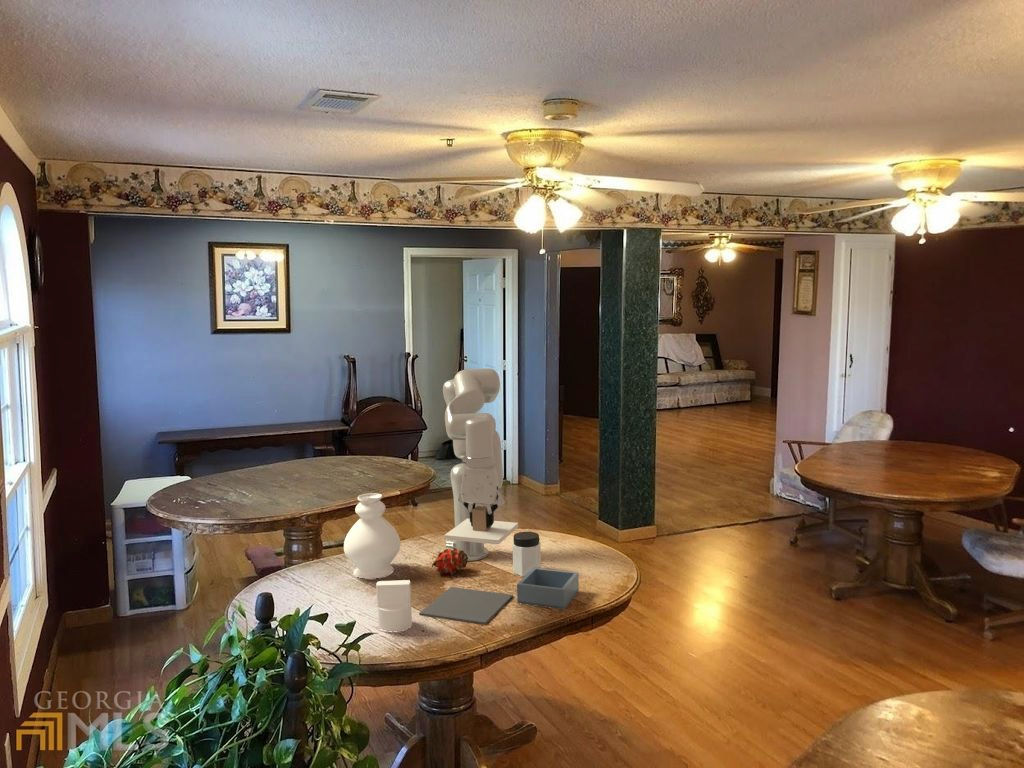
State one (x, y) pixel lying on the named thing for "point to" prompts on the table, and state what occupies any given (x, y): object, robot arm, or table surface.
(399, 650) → the table surface
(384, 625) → the cylinder with rectangular tab
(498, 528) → the lid
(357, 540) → the decorative vase
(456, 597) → the mat
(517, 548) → the jar
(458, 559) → the dragon fruit
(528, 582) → the open square box
